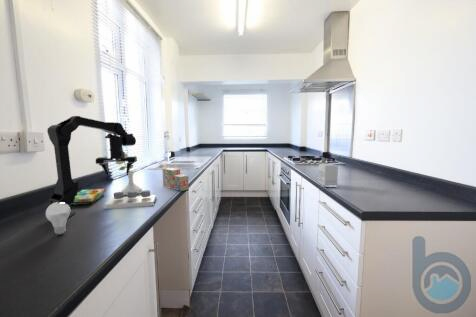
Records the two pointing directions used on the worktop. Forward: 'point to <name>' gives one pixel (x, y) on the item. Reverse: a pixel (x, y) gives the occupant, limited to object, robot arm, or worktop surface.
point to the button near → (118, 195)
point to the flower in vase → (131, 185)
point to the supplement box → (328, 174)
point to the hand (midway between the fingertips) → (118, 175)
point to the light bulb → (58, 216)
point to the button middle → (132, 194)
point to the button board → (130, 202)
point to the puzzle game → (88, 196)
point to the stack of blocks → (175, 179)
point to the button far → (145, 193)
